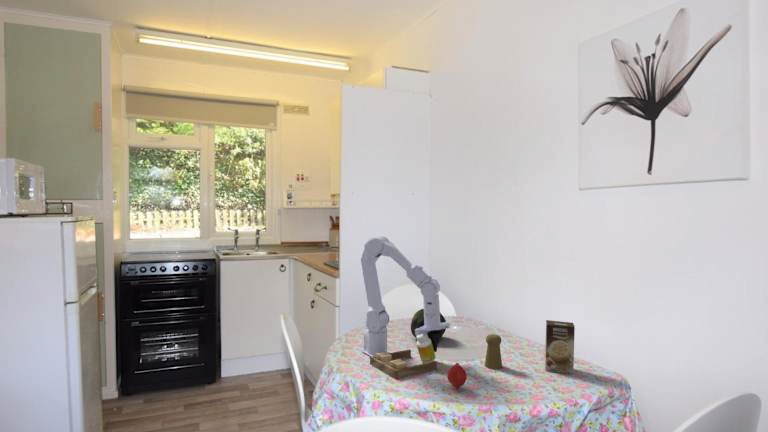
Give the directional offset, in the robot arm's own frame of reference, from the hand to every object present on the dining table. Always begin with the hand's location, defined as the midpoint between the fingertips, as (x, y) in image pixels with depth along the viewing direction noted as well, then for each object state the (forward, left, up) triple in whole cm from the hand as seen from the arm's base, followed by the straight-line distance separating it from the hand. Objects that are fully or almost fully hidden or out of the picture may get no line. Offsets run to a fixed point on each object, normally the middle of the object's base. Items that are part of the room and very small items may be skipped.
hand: (433, 351), depth 160 cm
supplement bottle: (-1, -2, -3) cm, 3 cm away
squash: (-23, +16, -4) cm, 28 cm away
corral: (-1, -12, -4) cm, 13 cm away
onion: (+23, -9, -4) cm, 25 cm away
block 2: (+4, -18, -4) cm, 19 cm away
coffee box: (+29, +32, -4) cm, 43 cm away
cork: (+15, +15, -4) cm, 21 cm away
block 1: (-5, -18, -4) cm, 19 cm away
